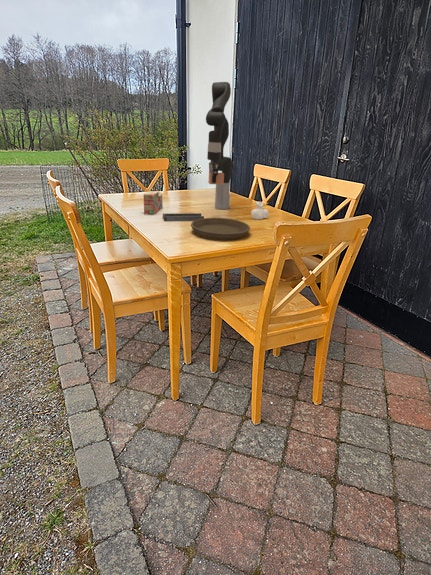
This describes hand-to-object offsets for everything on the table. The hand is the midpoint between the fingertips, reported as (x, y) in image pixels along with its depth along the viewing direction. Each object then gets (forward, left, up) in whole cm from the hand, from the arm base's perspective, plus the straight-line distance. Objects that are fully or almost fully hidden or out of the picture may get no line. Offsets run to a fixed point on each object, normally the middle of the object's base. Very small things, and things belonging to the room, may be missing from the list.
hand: (212, 182), depth 213 cm
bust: (-30, +2, -22) cm, 37 cm away
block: (-2, 0, -1) cm, 2 cm away
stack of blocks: (+33, -20, -22) cm, 44 cm away
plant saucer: (+3, +32, -22) cm, 39 cm away
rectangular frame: (+17, +2, -21) cm, 27 cm away
